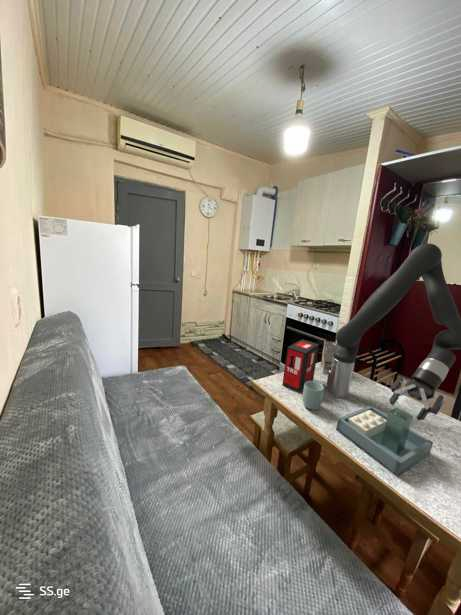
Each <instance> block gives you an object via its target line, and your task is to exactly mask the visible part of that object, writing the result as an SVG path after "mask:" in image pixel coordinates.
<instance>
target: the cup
mask: <svg viewBox="0 0 461 615" xmlns="http://www.w3.org/2000/svg"><path fill="white" fill-rule="evenodd" d="M302 391H303V392H302V403H303V406H304V407H306V408H307V409H308V410H312V411H313V410H314V411H315V410H318V409H319V408H320V406H321V405H322V402H323V398H324V397H323V396H324V392H325V387H324V386H323V384H321V383H320V382H317V381H314V380H313V381H307V382H305V384H304V389H303V390H302Z"/></svg>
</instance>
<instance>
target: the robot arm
mask: <svg viewBox="0 0 461 615" xmlns="http://www.w3.org/2000/svg"><path fill="white" fill-rule="evenodd" d="M438 246H439V245H438ZM438 246H437V245H436V244H434V243H430V242H429V243H427V242H426V243H423V244H419V245H418V246H416V247H414V249H412V251H411V252H410V253H409V255H408V256H407V258H406V259H405V260H404V261H403V263H401V265H400V267H398V269H397V270H396V271H395V272H394V273H393V274H392V275H391V276H389V278H387V279H386V280H385V281H384V282H383V283H382V284H381V285H380V286H379V287H378V288H376V290H375V291H374V292H373V293H371V295H369V297H368V299H367V300H365V302H364V303H363V305H362V306H361V307H360V308H359V310H358V311H357V313H356V314H355V315H354V316H353V317H352V318H351V319H350V320H349V321H348V322H347V323H346V324H345V325H342V327H341V328H339V329H338V331H337V332H336V334H335V340H336V341H335V342H336V343H337V346H336V349H335V352H334V356H333V362H332V367H331V370H330V371H329V373H328V374H327V378H326V379H327V380H326V386H325V390H326V391H327V392H328V393H329V394H330V395H331V396H334V397H337V398H343V399H344V398H348V397H349V393H350V387H351V383H352V377H353V373H354V369H355V363H356V359H357V355H358V352H359V348H360V342H361V338H362V337H363V336H364V335H365V333H366V332H367V331H368V330H369V329H370V328H371V327H373V326H374V325H375V324H376V323H377V322H380V321H381V319H383V318H384V317H385V316H387V314H388V313H390V311H391V310H393V309H394V308H395V306H396V305H398V304H399V302H401V300H402V299H403V298H404V296H405V295H406V294H407V292H409V290H410V288H411V287H412V286H413V285H414V284H415V282H417V280H419V279H420V278H422V281H423V283H424V286H425V290H426V294H427V295H426V296H427V298H428V303H429V306H430V310H431V312H432V316H433V318H434V319H433V320H434V321H435V323H436V324H438V325H441V326H444V327H447V329H444V330H440V331H439V332H438V333H436V335H435V337H434V339H433V344H432V347H431V351H430V352H429V353H428V355H427V357H425V359H424V360H423V361H422V362H421V363H420V364H419V366H418V368H417V369H416V370H415V372H414V373H413V374H412V375H411V377H410V379H409V380H408V381H407V380H406V379H404V378H403V377H402V376H399V377H397V379H396V380H395V381H394V382H393V383H392V384H391V386H390V387H389V388H390V391H391V392H392V393H393V394H391V396H390V398H389V404H390V405H392V406H395V404H396V402H397V401H398V400H399V398H400V397H403V396H405V397H406V396H409V397H411V398H414V399H416V400H417V401H419V402H420V401H421V402H422V403H423V407H422V408H421V409H420V411H419V412H418V413H417V415H416V419H417V420H418V421H421V420H422V421H423V420H425V418H426V417H427V416H428V414H429V413H430V414H433V415H438V414H439V411H440V410H441V408H442V406H443V404H444V402H445V398H444V395H442V394H436V391H437V390H438V388H440V385H441V384H442V382H444V381H445V379H446V377H447V375H448V372H449V371H450V369H451V368H452V366H453V365H454V363H455V361H456V359H457V357H456V355H455V354H454V352H452V350H458V351H459V350H461V316H460V313H459V311H458V308H457V304H456V302H455V300H454V296H453V295H452V292H451V290H450V287H449V286H448V284H447V281H446V277H445V276H444V271H443V262H442V257H443V254H442V251H441V249H440V247H438ZM403 385H405V386H403ZM401 386H403V387H401ZM400 387H401V388H400ZM433 398H434V404H433V405H432V407H431V406H430V405H429V402H428V400H430V399H433Z"/></svg>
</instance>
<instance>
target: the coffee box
mask: <svg viewBox="0 0 461 615" xmlns="http://www.w3.org/2000/svg"><path fill="white" fill-rule="evenodd" d="M323 342H324V343H323V344H324V345H323V349H322V354H321V355H322V356H321V361H320V369H321V372H322V374H325V375H328V373H329V371H330V370H331V367H332V362H333V356H334V352H335V349H336V346H337V341H329V340H324V341H323Z"/></svg>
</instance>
